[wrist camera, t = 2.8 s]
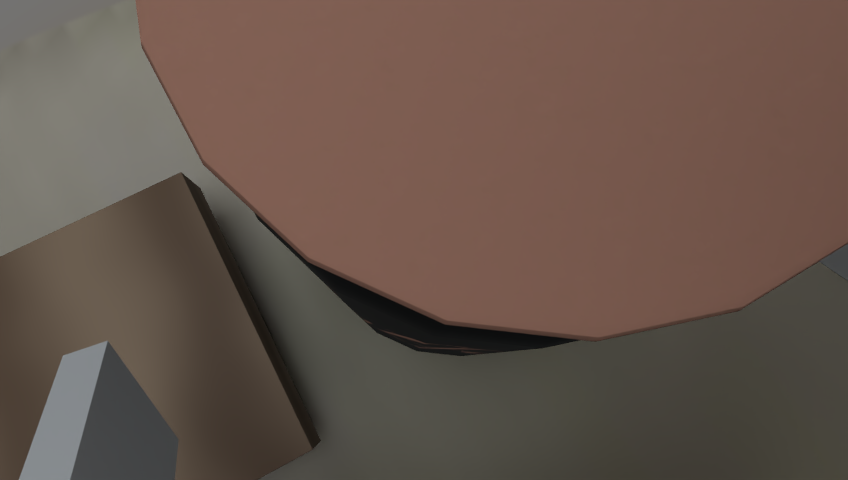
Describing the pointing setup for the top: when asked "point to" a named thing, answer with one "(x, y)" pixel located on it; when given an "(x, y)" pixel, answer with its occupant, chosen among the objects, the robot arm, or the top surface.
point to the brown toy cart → (151, 333)
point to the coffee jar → (523, 153)
